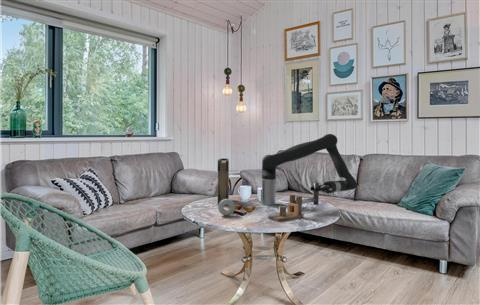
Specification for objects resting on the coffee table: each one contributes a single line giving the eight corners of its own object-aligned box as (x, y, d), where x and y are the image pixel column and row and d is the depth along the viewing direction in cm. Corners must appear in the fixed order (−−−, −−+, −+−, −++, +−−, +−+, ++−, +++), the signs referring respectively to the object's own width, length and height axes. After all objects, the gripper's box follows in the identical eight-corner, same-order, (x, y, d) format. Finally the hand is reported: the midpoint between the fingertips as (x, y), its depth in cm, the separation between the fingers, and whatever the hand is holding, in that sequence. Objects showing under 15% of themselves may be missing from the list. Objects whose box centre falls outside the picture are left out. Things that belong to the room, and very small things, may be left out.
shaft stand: (268, 218, 203) (268, 197, 203) (292, 214, 214) (292, 194, 214) (278, 221, 196) (279, 200, 195) (303, 217, 207) (303, 196, 206)
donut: (218, 216, 207) (218, 199, 206) (217, 215, 210) (217, 198, 209) (235, 216, 208) (235, 199, 207) (234, 214, 211) (234, 198, 211)
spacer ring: (287, 213, 211) (287, 202, 210) (290, 212, 212) (290, 202, 211) (296, 215, 205) (296, 205, 205) (298, 214, 206) (298, 204, 206)
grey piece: (294, 207, 211) (294, 185, 210) (315, 203, 221) (316, 182, 221) (297, 208, 208) (298, 185, 207) (319, 204, 219) (319, 183, 218)
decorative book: (228, 205, 237) (228, 160, 235) (217, 205, 237) (217, 160, 235) (229, 198, 260) (229, 157, 258) (219, 198, 260) (219, 157, 258)
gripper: (323, 179, 232) (304, 181, 222) (341, 182, 221) (322, 184, 211) (323, 191, 233) (304, 193, 223) (340, 194, 221) (321, 197, 211)
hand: (313, 189), depth 217 cm, fingers closed on grey piece, 3 cm apart
